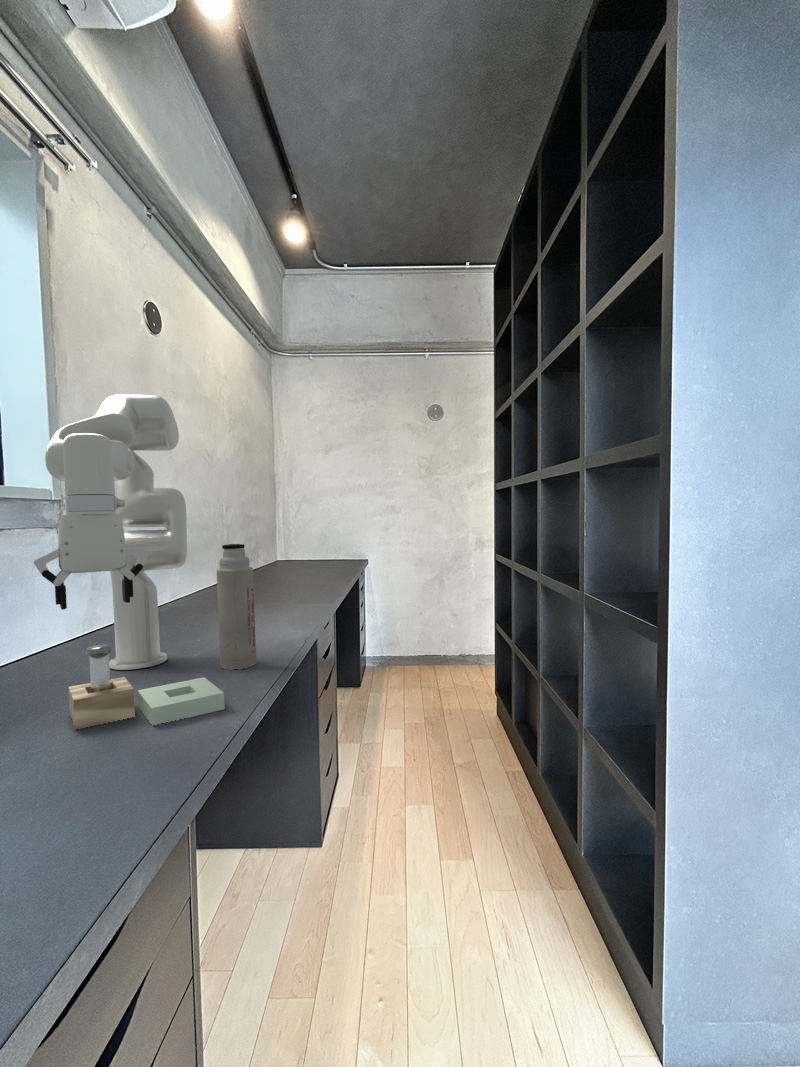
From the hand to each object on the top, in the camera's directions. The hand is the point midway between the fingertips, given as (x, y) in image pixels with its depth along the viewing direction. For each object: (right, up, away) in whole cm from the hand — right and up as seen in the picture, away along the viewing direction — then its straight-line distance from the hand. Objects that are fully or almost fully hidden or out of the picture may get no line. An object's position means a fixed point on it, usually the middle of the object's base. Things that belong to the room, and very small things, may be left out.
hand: (95, 605), depth 95 cm
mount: (0, -20, +1) cm, 20 cm away
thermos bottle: (+16, -18, +32) cm, 40 cm away
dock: (+13, -19, +4) cm, 24 cm away
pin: (0, -20, +1) cm, 20 cm away
